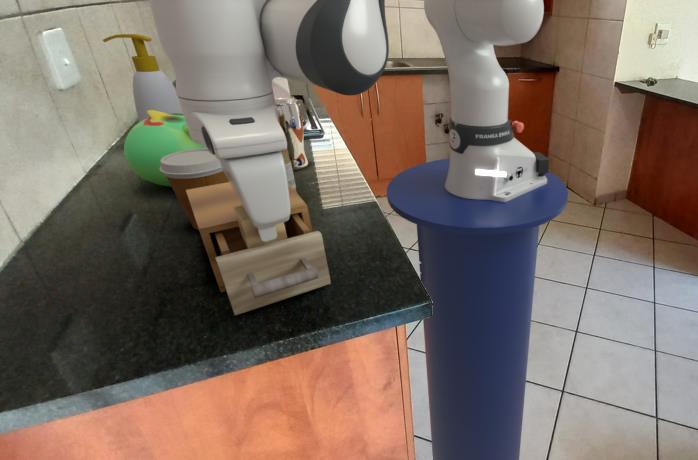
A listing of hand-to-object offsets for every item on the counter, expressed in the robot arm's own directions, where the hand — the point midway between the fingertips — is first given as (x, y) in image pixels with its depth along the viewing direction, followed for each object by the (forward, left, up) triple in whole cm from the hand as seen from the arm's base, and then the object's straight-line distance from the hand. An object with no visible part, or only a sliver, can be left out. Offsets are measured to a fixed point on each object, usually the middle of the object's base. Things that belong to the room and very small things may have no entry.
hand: (263, 229), depth 54 cm
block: (0, 0, -2) cm, 2 cm away
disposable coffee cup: (+4, -27, -10) cm, 29 cm away
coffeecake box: (-14, -72, -10) cm, 74 cm away
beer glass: (-15, -49, -10) cm, 52 cm away
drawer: (0, -1, -9) cm, 9 cm away
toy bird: (+5, -50, -10) cm, 51 cm away
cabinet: (0, -11, -10) cm, 15 cm away
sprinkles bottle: (-8, -28, -10) cm, 31 cm away
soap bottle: (+6, -76, -10) cm, 77 cm away
